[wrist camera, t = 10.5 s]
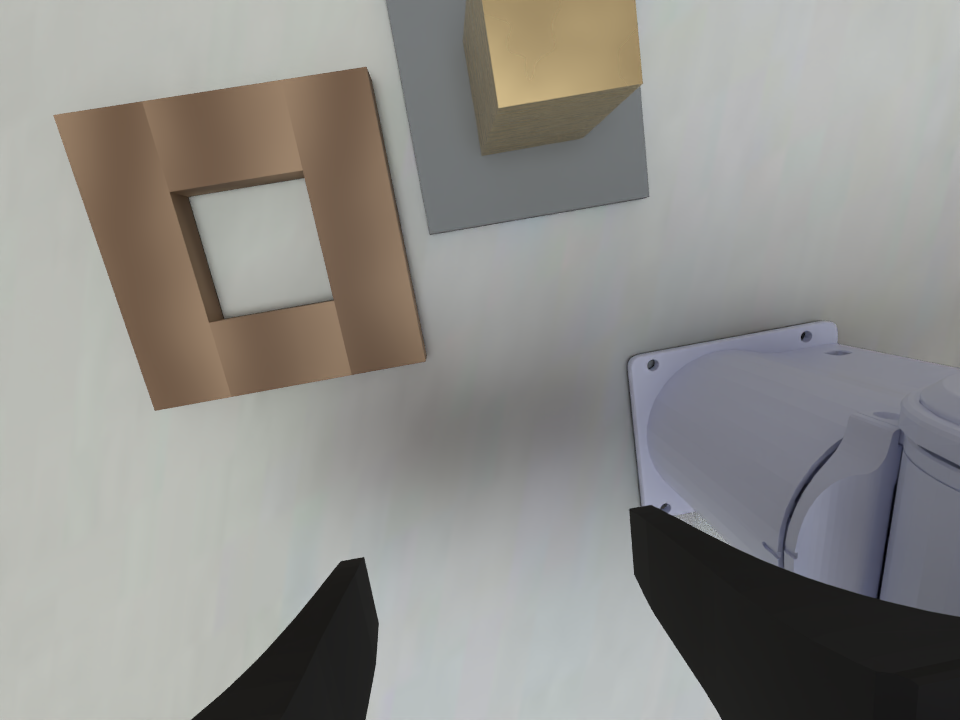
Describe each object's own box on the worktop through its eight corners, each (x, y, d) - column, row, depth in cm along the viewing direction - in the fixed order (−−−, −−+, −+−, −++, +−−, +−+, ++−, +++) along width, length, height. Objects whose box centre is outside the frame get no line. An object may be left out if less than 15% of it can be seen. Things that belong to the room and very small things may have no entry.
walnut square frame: (371, 80, 17) (366, 66, 16) (426, 355, 19) (425, 361, 18) (80, 125, 17) (53, 115, 16) (172, 401, 19) (155, 410, 18)
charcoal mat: (622, -53, 17) (628, -63, 16) (644, 198, 19) (649, 196, 18) (383, -18, 17) (381, -26, 16) (430, 234, 18) (429, 233, 18)
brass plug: (568, 23, 17) (627, -90, 11) (582, 138, 18) (643, 83, 12) (462, 40, 17) (471, -66, 11) (481, 156, 18) (498, 107, 12)
